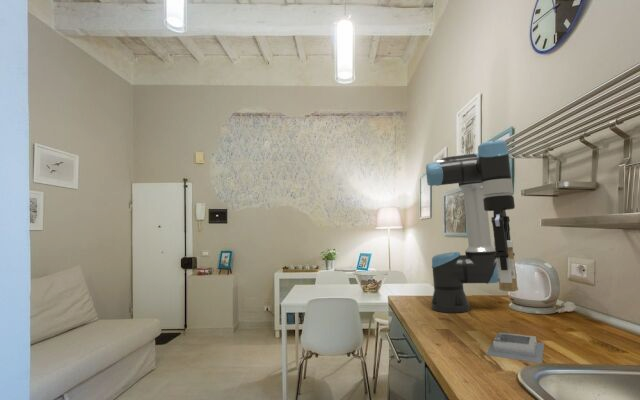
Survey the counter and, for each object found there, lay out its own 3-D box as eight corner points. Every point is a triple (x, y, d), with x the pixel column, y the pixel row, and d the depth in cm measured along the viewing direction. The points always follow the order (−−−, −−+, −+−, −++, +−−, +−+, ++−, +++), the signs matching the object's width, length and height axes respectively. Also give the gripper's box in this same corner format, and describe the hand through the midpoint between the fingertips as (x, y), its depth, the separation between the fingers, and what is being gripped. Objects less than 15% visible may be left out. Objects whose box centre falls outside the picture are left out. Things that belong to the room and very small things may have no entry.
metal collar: (499, 341, 93) (498, 332, 93) (537, 346, 87) (535, 336, 88) (494, 351, 85) (493, 341, 86) (535, 357, 80) (533, 346, 80)
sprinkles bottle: (518, 289, 89) (512, 239, 90) (518, 292, 85) (511, 240, 86) (499, 288, 91) (494, 240, 93) (498, 291, 87) (492, 241, 89)
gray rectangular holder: (495, 340, 96) (495, 337, 96) (544, 346, 89) (544, 343, 89) (486, 358, 83) (485, 354, 83) (542, 367, 76) (541, 363, 76)
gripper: (488, 199, 100) (497, 276, 98) (476, 195, 86) (486, 285, 84) (516, 196, 96) (526, 277, 93) (509, 192, 82) (520, 286, 79)
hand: (507, 281), depth 88 cm, fingers closed on sprinkles bottle, 4 cm apart
